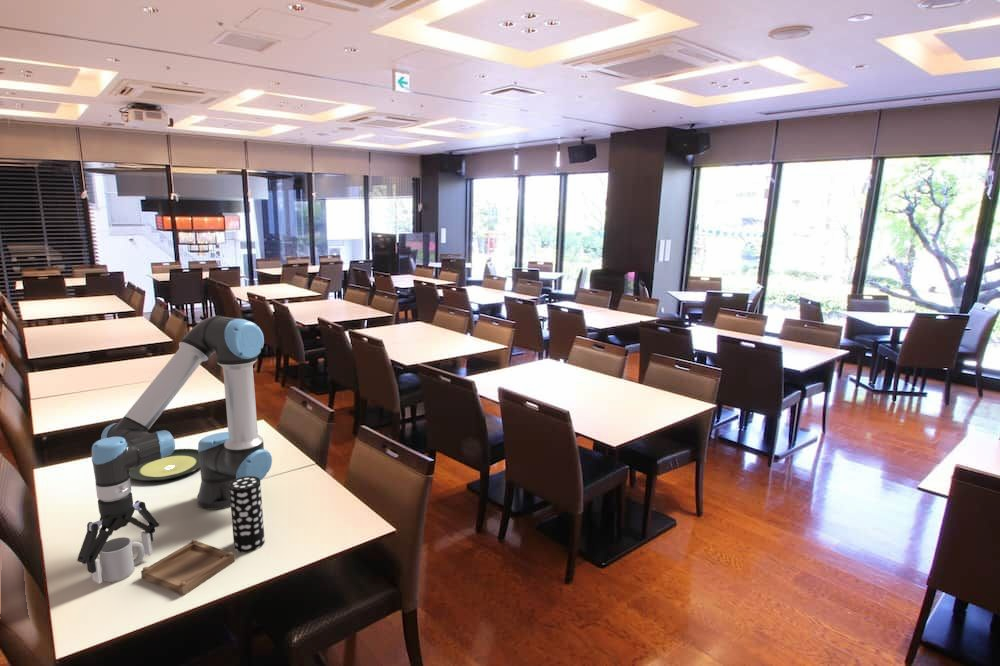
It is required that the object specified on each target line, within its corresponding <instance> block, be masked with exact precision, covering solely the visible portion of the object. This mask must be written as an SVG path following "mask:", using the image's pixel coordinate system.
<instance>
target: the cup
mask: <svg viewBox="0 0 1000 666" xmlns="http://www.w3.org/2000/svg"><path fill="white" fill-rule="evenodd" d="M134 548H135V549H136V550H137V551H136V552H137V555H136V557H135V558H134V555H133V549H134ZM98 556H99V561H100V568H101V576H102V580H103V581H105V582H107V583H116V582H121V581H123V580H126V579H127V578H129V577H130V576H131V575H133V573H134V572H135V566H136V565H138V564H139V563H141V562H142V561H143V558H144V557H145V554H144V547H143V545H142V542H139V541H132V540H131V539H130V538H129V537H123V536H121V537H116V538H112V539H110V540H107V541H106V543H105V544H104V546H103V548H102V550H101V551H100V553H99V555H98Z"/></svg>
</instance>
